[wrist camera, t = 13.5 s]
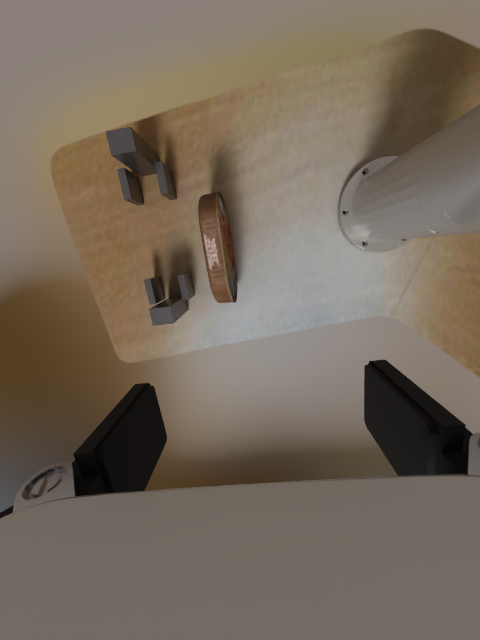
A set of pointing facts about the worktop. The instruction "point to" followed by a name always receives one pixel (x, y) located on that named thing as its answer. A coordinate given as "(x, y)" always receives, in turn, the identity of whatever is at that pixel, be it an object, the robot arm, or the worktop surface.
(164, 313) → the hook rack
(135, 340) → the worktop surface
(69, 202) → the worktop surface
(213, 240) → the tin
